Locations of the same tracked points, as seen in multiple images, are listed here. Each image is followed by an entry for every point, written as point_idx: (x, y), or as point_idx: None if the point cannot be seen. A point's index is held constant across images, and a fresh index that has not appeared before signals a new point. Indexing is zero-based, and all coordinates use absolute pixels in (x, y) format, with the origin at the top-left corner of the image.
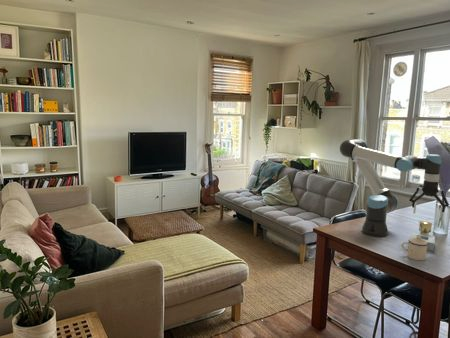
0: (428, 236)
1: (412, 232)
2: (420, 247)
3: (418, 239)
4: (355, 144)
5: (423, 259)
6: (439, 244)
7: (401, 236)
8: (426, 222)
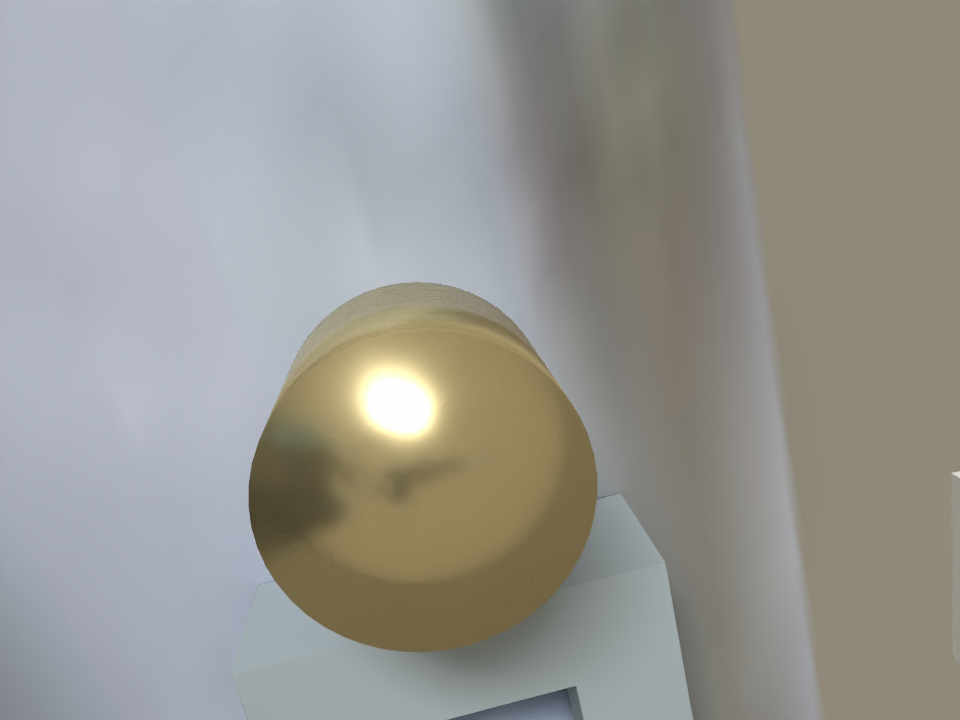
0: (567, 656)
1: (250, 678)
2: None
3: None
4: None
5: None
6: (697, 453)
7: (74, 576)
8: (430, 444)
